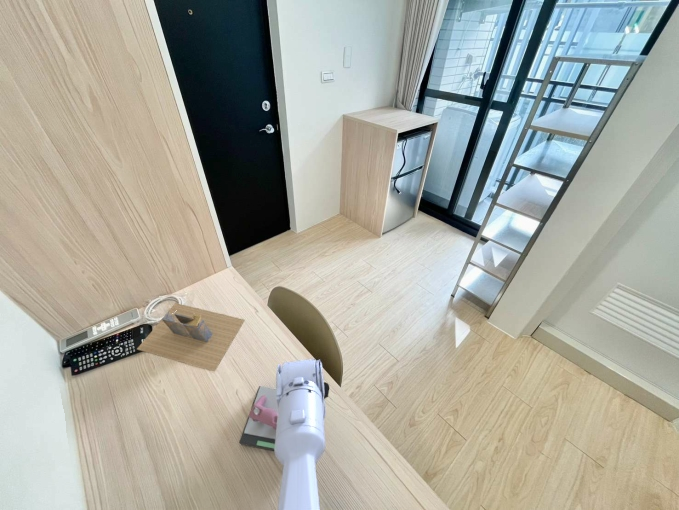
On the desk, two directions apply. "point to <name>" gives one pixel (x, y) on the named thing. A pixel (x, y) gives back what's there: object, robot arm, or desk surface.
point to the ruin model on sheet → (192, 336)
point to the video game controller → (263, 413)
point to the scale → (261, 424)
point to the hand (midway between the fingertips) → (312, 425)
